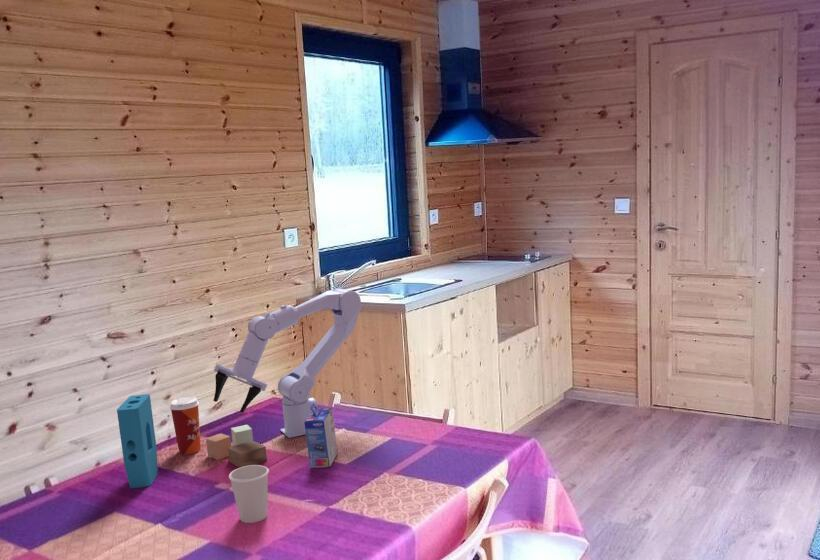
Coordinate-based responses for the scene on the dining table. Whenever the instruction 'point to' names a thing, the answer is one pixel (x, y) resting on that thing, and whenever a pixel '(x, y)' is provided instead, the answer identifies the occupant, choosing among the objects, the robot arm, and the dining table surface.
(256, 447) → the walnut base
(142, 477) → the block
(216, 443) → the terracotta cube
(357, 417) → the dining table surface
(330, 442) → the ink cartridge box
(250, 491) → the dixie cup
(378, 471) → the dining table surface
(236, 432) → the sage cube
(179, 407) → the paper cup
